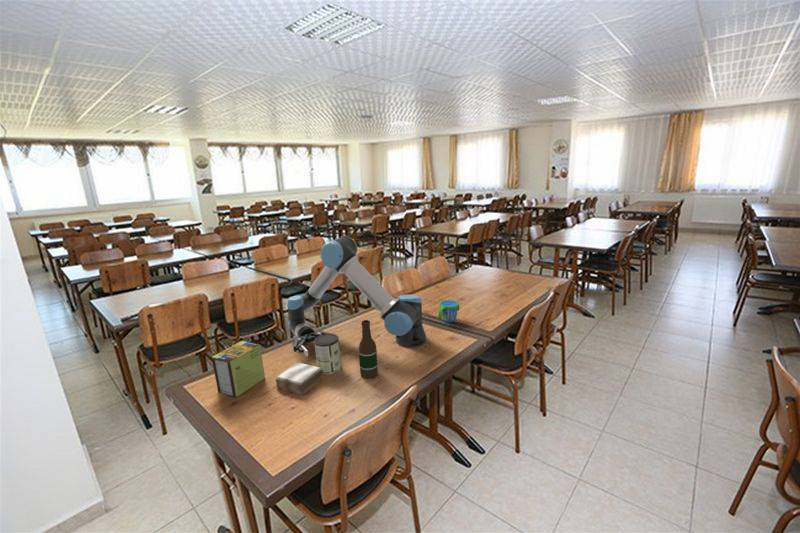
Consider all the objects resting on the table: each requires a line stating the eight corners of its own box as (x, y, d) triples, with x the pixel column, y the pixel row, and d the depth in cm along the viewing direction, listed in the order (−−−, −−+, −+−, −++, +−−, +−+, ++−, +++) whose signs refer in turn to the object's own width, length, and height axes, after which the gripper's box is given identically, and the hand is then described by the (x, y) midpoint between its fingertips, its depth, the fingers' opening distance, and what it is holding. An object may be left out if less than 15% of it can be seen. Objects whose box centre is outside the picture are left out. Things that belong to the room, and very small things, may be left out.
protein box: (265, 377, 157) (260, 344, 153) (236, 397, 144) (229, 361, 140) (247, 373, 161) (242, 340, 157) (217, 392, 148) (210, 356, 144)
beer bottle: (381, 371, 158) (378, 318, 152) (374, 380, 151) (370, 326, 145) (364, 368, 160) (360, 316, 154) (356, 378, 153) (352, 324, 147)
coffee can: (321, 362, 168) (318, 333, 164) (343, 362, 166) (341, 333, 163) (314, 374, 158) (310, 344, 154) (337, 374, 157) (334, 344, 153)
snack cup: (445, 327, 199) (445, 309, 196) (432, 321, 207) (432, 304, 204) (465, 319, 208) (466, 302, 205) (452, 314, 216) (452, 297, 213)
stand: (323, 378, 154) (322, 367, 153) (302, 395, 143) (301, 383, 142) (298, 372, 160) (297, 361, 159) (277, 388, 149) (275, 376, 148)
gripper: (329, 333, 189) (348, 348, 172) (280, 347, 176) (295, 365, 158) (328, 319, 187) (346, 333, 170) (278, 332, 174) (293, 349, 156)
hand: (322, 349), depth 164 cm, fingers open, 13 cm apart
